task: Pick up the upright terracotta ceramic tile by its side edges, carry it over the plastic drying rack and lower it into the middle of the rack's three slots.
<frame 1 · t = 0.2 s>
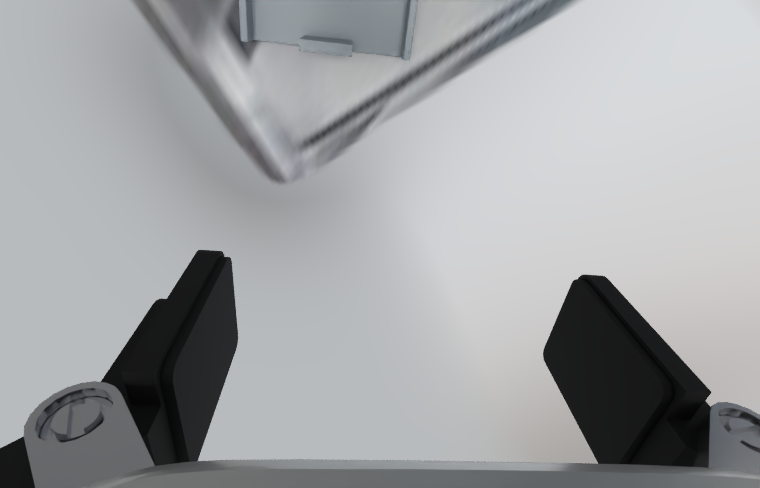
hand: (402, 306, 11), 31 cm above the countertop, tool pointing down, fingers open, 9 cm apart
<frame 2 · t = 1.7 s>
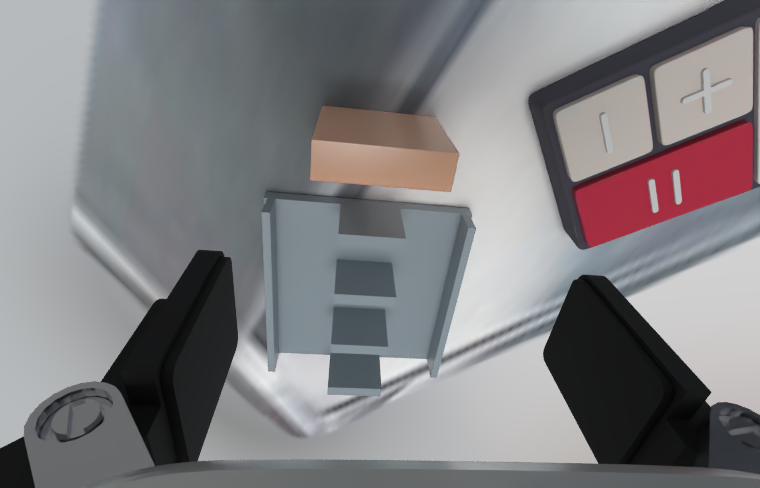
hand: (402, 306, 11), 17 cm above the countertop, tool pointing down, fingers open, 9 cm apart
tile: (377, 127, 26), on the countertop
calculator: (654, 119, 27), on the countertop
rack: (361, 281, 32), on the countertop
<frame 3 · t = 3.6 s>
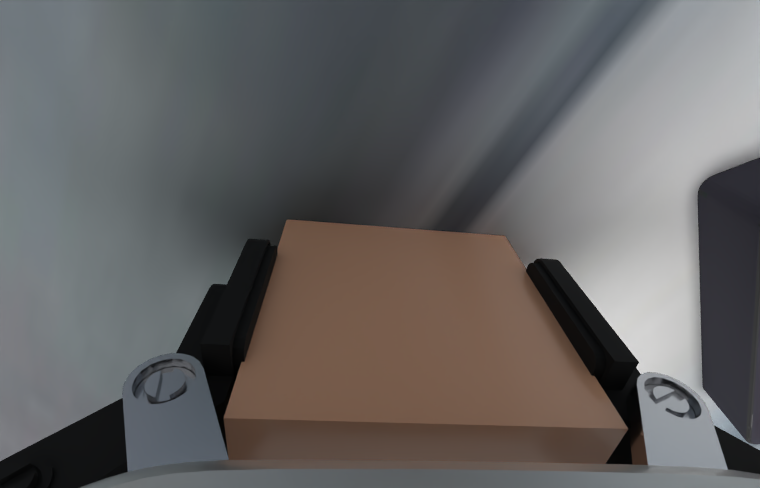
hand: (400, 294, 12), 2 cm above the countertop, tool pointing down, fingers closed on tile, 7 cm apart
tile: (394, 254, 13), on the countertop, touching gripper
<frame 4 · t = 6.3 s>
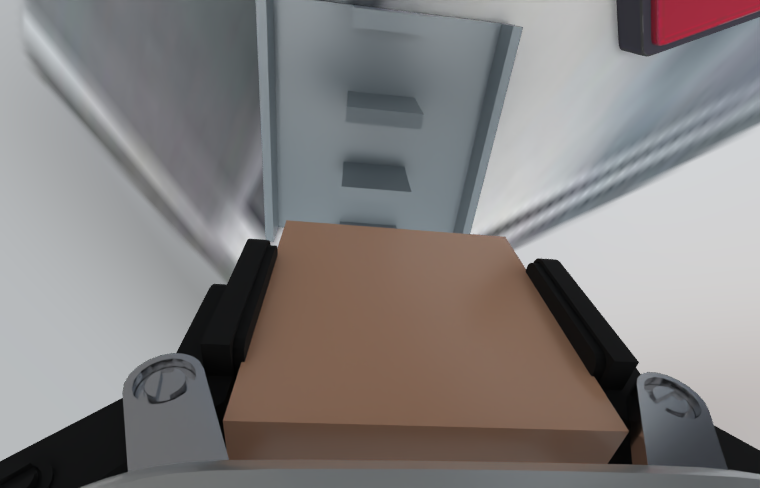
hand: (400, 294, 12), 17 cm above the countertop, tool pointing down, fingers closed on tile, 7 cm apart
tile: (394, 255, 13), point 15 cm above the countertop, touching gripper
rack: (376, 132, 27), on the countertop
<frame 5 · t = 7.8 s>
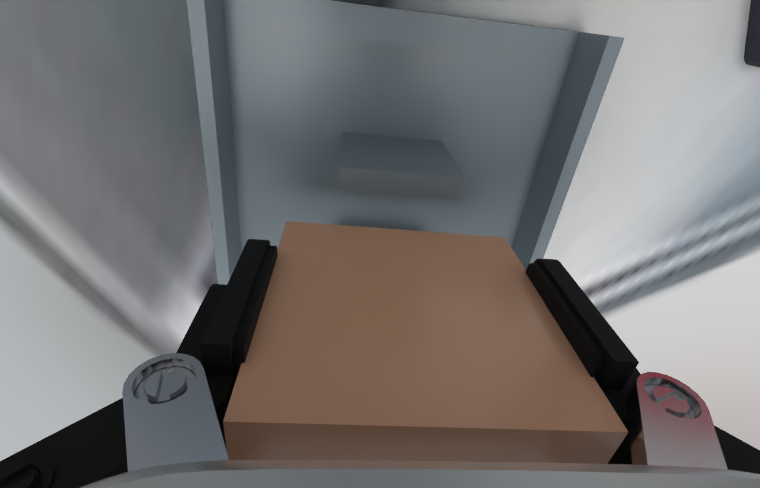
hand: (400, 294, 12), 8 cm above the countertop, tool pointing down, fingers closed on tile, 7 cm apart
tile: (394, 255, 13), point 6 cm above the countertop, touching gripper
rack: (384, 187, 18), on the countertop
when the fingers open (4 cm above the countertop, at t = 9.1 s): tile drops 1 cm, resting on rack.
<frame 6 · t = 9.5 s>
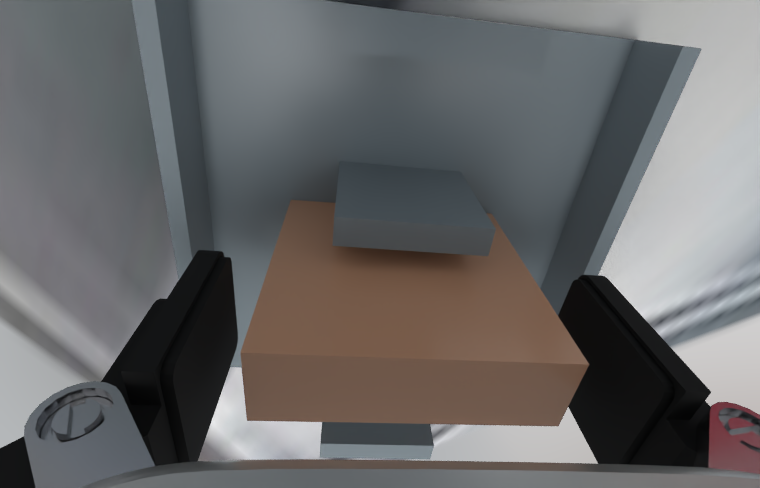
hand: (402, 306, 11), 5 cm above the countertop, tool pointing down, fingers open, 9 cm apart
tile: (390, 232, 15), point 1 cm above the countertop, touching rack
rack: (389, 222, 16), on the countertop
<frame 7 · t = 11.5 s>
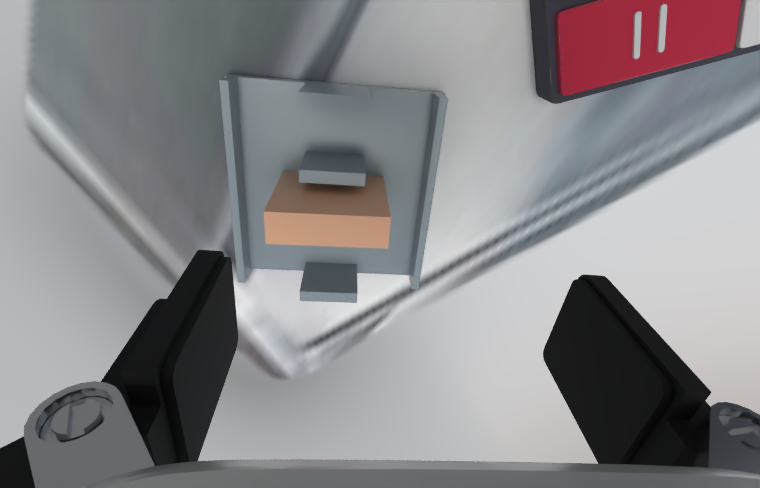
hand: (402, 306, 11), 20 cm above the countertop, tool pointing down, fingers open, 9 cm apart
tile: (333, 187, 29), point 1 cm above the countertop, touching rack
rack: (334, 184, 30), on the countertop
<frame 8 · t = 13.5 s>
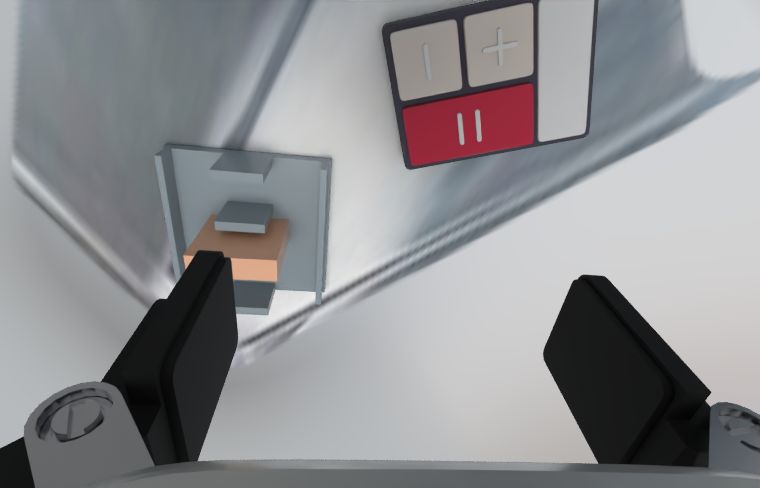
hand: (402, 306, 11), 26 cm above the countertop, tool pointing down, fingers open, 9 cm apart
tile: (251, 226, 38), point 1 cm above the countertop, touching rack
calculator: (481, 77, 34), on the countertop
rack: (254, 222, 39), on the countertop
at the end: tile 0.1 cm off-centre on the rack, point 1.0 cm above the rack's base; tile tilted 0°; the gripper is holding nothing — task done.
